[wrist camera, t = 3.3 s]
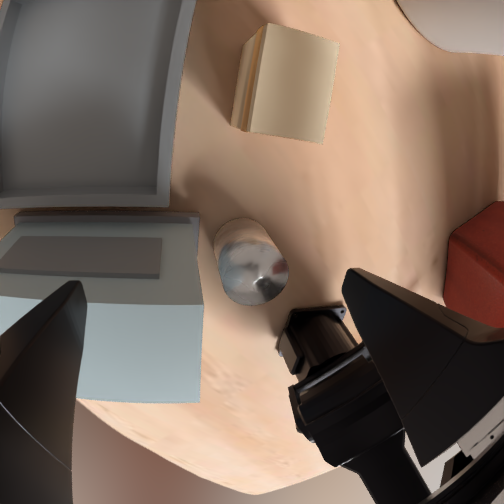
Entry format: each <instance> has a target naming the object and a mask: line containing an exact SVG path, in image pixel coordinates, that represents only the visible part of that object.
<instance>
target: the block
mask: <svg viewBox="0 0 504 504" xmlns="http://www.w3.org/2000/svg"><path fill="white" fill-rule="evenodd" d="M339 45H340V43H337V42H334V41H331V40H328V39H326V38H323V37H319V36H316V35H313V34H310V33H307V32H303V31H300V30H296V29H293V28H289V27H285V26H281V25H277V24H273V23H267V24H266V25H265V26H262V27H261V28H259V29H258V30H257V33H256V34H255V35H254V36H252V37H251V38H250V39H249V40H248V41H247V42H246V43H245V44H244V45H243V48H242V54H241V60H240V65H239V71H238V77H237V84H236V90H235V96H234V103H233V109H232V116H231V123H230V126H233V127H236V128H239V129H241V131H244V132H250V133H258V134H265V135H272V136H278V137H284V138H290V139H296V140H302V141H307V142H312V143H318V144H323V140H324V135H325V129H326V124H327V119H328V113H329V108H330V102H331V96H332V90H333V84H334V78H335V72H336V65H337V59H338V52H339Z"/></svg>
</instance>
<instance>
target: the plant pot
mask: <svg viewBox="0 0 504 504" xmlns="http://www.w3.org/2000/svg"><path fill="white" fill-rule="evenodd" d="M443 300H444V303H445V305H446V308H449V309H451V310H453V311H455V312H457V313H460V314H462V315H464V316H467V317H469V318H472V319H474V320H476V321H479V322H481V323H484V324H486V325H488V326H491V327H495V328H504V201H496V202H494V203H493V204H492V205H490V206H489V207H487V208H486V209H485V210H483V211H482V212H481V213H479V214H478V215H476V216H475V217H474V218H472V219H471V220H469V221H468V222H467V223H465V224H464V225H462V226H461V227H459V228H458V229H456V230H455V231H454V232H453V233H452V234H451V236H450V238H449V248H448V261H447V272H446V281H445V289H444V296H443Z"/></svg>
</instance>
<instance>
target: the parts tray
mask: <svg viewBox="0 0 504 504" xmlns="http://www.w3.org/2000/svg"><path fill="white" fill-rule="evenodd" d="M196 2H197V0H4V1H3V4H2V6H1V9H0V209H9V208H35V207H85V206H118V207H169V199H170V184H171V170H172V157H173V146H174V135H175V126H176V117H177V109H178V101H179V93H180V86H181V80H182V73H183V67H184V61H185V55H186V50H187V44H188V39H189V34H190V29H191V24H192V19H193V15H194V10H195V6H196Z"/></svg>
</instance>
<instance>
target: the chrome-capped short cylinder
mask: <svg viewBox="0 0 504 504" xmlns="http://www.w3.org/2000/svg"><path fill="white" fill-rule="evenodd" d="M213 249H214V253H215V257H216V261H217V265H218V269H219V272H220V276H221V280H222V284H223V287H224V290H225V292H226V294H227V296H228V297H229V298H230V299H232V300H233V301H234V302H236V303H239V304H242V305H249V306H252V305H259V304H263V303H266V302H268V301H270V300H272V299H273V298H275V297H276V296H277V295H278V294H279V293H280V292H281V291H282V290H283V288H284V287H285V285H286V283H287V280H288V276H289V268H288V264H287V262H286V260H285V259H284V257H283V256H282V254H281V253H280V251H279V250H278V248H277V247H276V245H275V244H274V242H273V241H272V239H271V238H270V236H269V235H268V234H267V232H266V231H265V229H264V228H263V226H262V225H261V224H259V223H258V222H257V221H255V220H252V219H248V218H238V219H234V220H231V221H229V222H227V223H226V224H224V225H223V226H222V227H221V228H220V229H219V230H218V232H217V233H216V235H215V238H214V242H213Z"/></svg>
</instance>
